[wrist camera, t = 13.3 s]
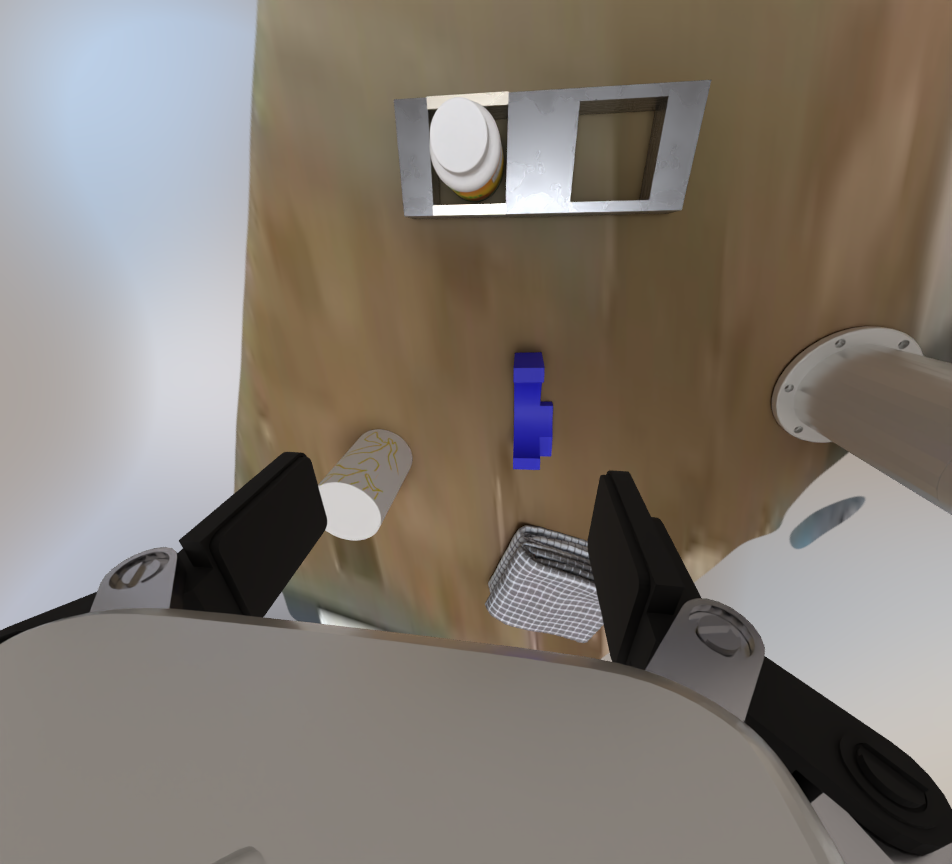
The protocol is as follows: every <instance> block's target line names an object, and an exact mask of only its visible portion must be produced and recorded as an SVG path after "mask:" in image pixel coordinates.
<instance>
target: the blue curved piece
mask: <svg viewBox="0 0 952 864" xmlns="http://www.w3.org/2000/svg"><path fill="white" fill-rule="evenodd" d="M542 382H544V362H543V357H542V352H536V353H515V358H514V452H513V469H528V470H540V456H551V450H552V416H553V404H552V402H540V396H541V385H542Z"/></svg>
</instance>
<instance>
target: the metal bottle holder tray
mask: <svg viewBox="0 0 952 864" xmlns="http://www.w3.org/2000/svg"><path fill="white" fill-rule="evenodd" d="M710 83H711V80H702V81H686V82H670V83H654V84H637V85H621V86H605V87H589V88H573V89H557V90H541V91H525V92H509V91H508V92H492V93H476V94H460V95H444V96H428V97H427V98H412V99H396V100H394V107H395V118H396V129H397V140H398V151H399V162H400V173H401V184H402V195H403V206H404V216H405V217H408V218H412V219H439V218H484V217H530V216H575V215H621V214H666V213H672V212H676V211H680V210H682V206H683V202H684V197H685V193H686V188H687V184H688V180H689V175H690V171H691V167H692V162H693V158H694V153H695V149H696V145H697V140H698V136H699V131H700V127H701V123H702V118H703V114H704V110H705V105H706V101H707V96H708V92H709V88H710ZM454 97H463V98H466V99H469V100H471V101H474V102H477V103H479V104H480V105H482V106H483V107H484V108H486V109H487V110H488V111H489V113H490V114H491V115H492V117H493V119H507V118H508V138H507V176H506V204H472V205H440V193H439V176H438V174H437V173H436V171H435V169H434V166H433V164H432V160H431V156H430V126H431V122H432V119H433V116H434V114H435V112H436V111H437V109H438V108H439V107H440V105H441V104H443V103H444V102H445V101H447V100H449V99H451V98H454ZM637 111H655V115H654V121H653V126H652V132H651V137H650V143H649V149H648V154H647V160H646V166H645V171H644V177H643V183H642V188H641V194H640V199H639V200H635V201H597V202H570V197H571V186H572V176H573V166H574V156H575V146H576V136H577V126H578V116H579V115H581V114H600V113H618V112H637Z"/></svg>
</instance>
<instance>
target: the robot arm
mask: <svg viewBox="0 0 952 864" xmlns="http://www.w3.org/2000/svg"><path fill="white" fill-rule="evenodd" d="M772 411H773V415H774V418H775V419H776V421H777V423H778V424H779V425H780V426H781V427H782V428H783V429H784V430H785V431H787V432H788V433H789V434H791V435H793V436H795V437H797V438H799V439H801V440H805V441H810V442H820V443H827V442H834V443H835V444H837V445H839V446H840V447H842V448H843V449H845V450H847V451H848V452H850V453H852V454H853V455H855V456H857V457H858V458H860V459H861V460H863V461H865V462H866V463H868V464H870V465H871V466H873V467H874V468H876V469H878V470H879V471H881V472H883V473H884V474H886V475H888V476H889V477H891V478H892V479H894V480H896V481H897V482H899V483H900V484H902V485H904V486H905V487H907V488H909V489H910V490H912V491H913V492H916V493H917V494H918V495H920V496H922V497H923V498H925V499H926V500H928V501H930V502H932V503H933V504H935V505H936V506H938V507H940V508H941V509H943V510H945V511H946V512H948V513H950V514H951V515H952V363H948V362H944V361H940V360H936V359H932V358H929V357H925V356H924V355H923V353H922V350H921V347H920V346H919V345H918V343H917V342H916V341H915V340H914V339H913V338H912V337H910V336H909V335H907V334H905V333H903V332H900V331H897V330H894V329H890V328H885V327H879V326H863V327H856V328H850V329H847V330H843V331H840V332H837V333H834V334H832V335H830V336H827V337H825V338H823V339H821V340H819V341H818V342H816V343H814V344H813V345H811V346H809V347H808V348H807V349H805V350H804V351H803V352H802V353H800V354H799V355H798V356H797V357H796V358H795V359H794V360H793V361H792V362H791V363H790V364H789V365H788V366H787V367H786V369H785V370H784V372H783V373H782V374H781V376H780V377H779V379H778V381H777V384H776V386H775V388H774V392H773V396H772ZM326 527H327V516H326V513H325V509H324V505H323V502H322V498H321V495H320V491H319V487H318V484H317V480H316V477H315V473H314V469H313V466H312V462H311V460H310V458H308V457H307V456H306V455H305V454H304V453H298V452H284V453H282V454H281V455H280V456H279V457H277V458H276V459H275V460H274V461H273V462H271V463H270V464H269V465H268V466H267V467H266V468H264V469H263V470H262V471H261V472H260V473H258V474H257V475H256V476H255V477H254V478H252V479H251V480H250V481H249V482H248V483H246V484H245V485H244V486H243V487H242V488H241V489H239V490H238V491H237V492H236V493H235V494H233V495H232V496H231V497H230V498H229V499H227V500H226V501H225V502H224V503H223V504H221V505H220V506H219V507H218V508H217V509H216V510H214V511H213V512H212V513H211V514H210V515H209V516H207V517H206V518H205V519H204V520H203V521H201V522H200V523H199V524H198V525H197V526H195V527H194V528H193V529H192V530H191V531H190V532H188V533H187V534H186V535H185V536H183V537H182V538H181V539H180V540H179V542H180V544H181V545H182V547H183V549H182V550H181V551H180V552H179V553H177V552H176V551H175V550H173V549H172V548H167V547H161V548H154V549H150V550H146V551H144V552H141V553H138V554H136V555H134V556H132V557H130V558H128V559H126V560H124V561H123V562H121V563H120V564H118V565H117V566H116V567H114V568H113V569H112V570H111V571H110V572H109V573H108V574H107V575H106V576H105V577H104V579H103V580H102V582H101V584H100V586H99V589H98V591H97V592H95V593H93V594H90V595H88V596H85V597H83V598H80V599H78V600H75V601H72V602H70V603H68V604H65V605H62V606H60V607H57V608H55V609H52V610H50V611H47V612H45V613H42V614H40V615H37V616H34V617H32V618H29V619H27V620H24V621H22V622H19V623H17V624H14V625H12V626H9V627H7V628H5V629H3V630H0V864H952V809H951V807H950V805H949V803H948V801H947V799H946V798H945V796H944V794H943V793H942V791H941V790H940V789H939V788H938V786H937V785H936V784H935V782H934V781H933V780H932V778H931V777H930V776H929V775H928V774H927V773H926V772H925V771H924V770H923V769H922V768H921V767H920V766H919V765H918V764H917V763H916V762H915V761H914V760H913V759H912V758H911V757H910V756H909V755H907V754H906V753H905V752H903V751H902V750H901V749H899V748H898V747H897V746H896V745H894V744H893V743H892V742H890V741H889V740H887V739H886V738H885V737H883V736H882V735H880V734H878V733H877V732H876V731H874V730H873V729H871V728H870V727H868V726H867V725H865V724H864V723H862V722H861V721H860V720H858V719H856V718H855V717H854V716H852V715H851V714H849V713H848V712H846V711H845V710H843V709H842V708H840V707H839V706H837V705H836V704H835V703H833V702H831V701H830V700H828V699H827V698H826V697H824V696H823V695H821V694H820V693H818V692H817V691H815V690H814V689H812V688H811V687H809V686H808V685H806V684H805V683H803V682H802V681H801V680H799V679H798V678H796V677H795V676H793V675H792V674H790V673H789V672H787V671H786V670H784V669H783V668H781V667H780V666H779V665H777V664H776V663H774V662H773V661H771V660H770V659H768V658H767V657H765V656H764V654H765V647H764V644H763V641H762V639H761V636H760V635H759V633H758V632H757V631H756V629H755V628H754V626H753V625H752V624H751V623H750V622H749V621H748V620H747V619H746V618H745V617H743V616H742V615H741V614H739V613H738V612H737V611H735V610H734V609H732V608H731V607H729V606H727V605H724V604H722V603H720V602H717V601H714V600H710V599H702V598H701V596H700V594H699V592H698V590H697V588H696V586H695V584H694V583H693V581H692V579H691V577H690V575H689V573H688V571H687V569H686V567H685V565H684V563H683V561H682V559H681V557H680V555H679V553H678V552H677V550H676V548H675V546H674V544H673V542H672V540H671V538H670V536H669V534H668V532H667V530H666V528H665V526H664V524H663V523H662V521H661V520H660V519H659V518H655V517H651V516H650V514H649V512H648V510H647V508H646V506H645V503H644V501H643V499H642V497H641V495H640V493H639V491H638V489H637V487H636V485H635V483H634V481H633V479H632V477H631V475H630V473H629V472H626V471H608V472H607V474H606V475H601V476H600V480H599V485H598V490H597V495H596V500H595V505H594V511H593V516H592V521H591V526H590V531H589V536H588V544H587V547H588V555H589V559H590V564H591V568H592V573H593V578H594V582H595V587H596V591H597V596H598V601H599V605H600V610H601V614H602V619H603V624H604V628H605V633H606V637H607V642H608V647H609V651H610V656H611V659H612V662H609V661H604V660H599V659H593V658H588V657H583V656H575V655H568V654H561V653H554V652H547V651H540V650H532V649H525V648H518V647H510V646H502V645H494V644H485V643H477V642H469V641H461V640H453V639H444V638H436V637H428V636H420V635H411V634H403V633H394V632H386V631H377V630H369V629H360V628H351V627H343V626H334V625H325V624H317V623H308V622H299V621H289V620H281V619H271V618H263V617H264V616H265V614H266V613H267V611H268V610H269V609H270V607H271V606H272V604H273V603H274V601H275V600H276V599H277V597H278V596H279V594H280V593H281V592H282V590H283V589H284V587H285V586H286V585H287V583H288V582H289V580H290V579H291V578H292V576H293V575H294V573H295V572H296V571H297V569H298V568H299V566H300V565H301V563H302V562H303V561H304V559H305V558H306V556H307V555H308V554H309V552H310V551H311V549H312V548H313V547H314V545H315V544H316V542H317V541H318V539H319V538H320V537H321V535H322V534H323V532H324V531H325V529H326Z"/></svg>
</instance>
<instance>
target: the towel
mask: <svg viewBox="0 0 952 864" xmlns="http://www.w3.org/2000/svg"><path fill="white" fill-rule="evenodd" d="M587 544H588V541H585V540H582V539H579V538H575V537H572V536H569V535H566V534H562V533H560V532H555V531H552V530H548V529H545V528H542V527H534V526H529V525H525V526H523V527H521V528H520V529H518V531H517V532H516V534H515V535H514V537H513V538H512V540H511V542H510V544H509V547H508V548H507V550H506V551H505V553H504V555H503V556H502V558H501V561H500V562H499V565H498V566H497V569H496V570H495V572H494V574H493V576H492V577H491V579H490V581H489V583H488V585H489V588H490V593H491V594H490V596H489V597H488V599H487V601H486V603H485V605H486V608H487V610H488V611H489V613H490V614H491V616H493V617H495V618H496V619H498V620H499V621H502V623H504V624H507V625H509V626H512V627H516V628H522V629H525V630H530V631H536V632H543V633H549V634H553V635H554V634H555V635H557V636H560V637H561V636H562V637H564V638H569V639H571V640H575V641H577V642H582V643H585V642H587V641H588V640H589V639H590V638H591V637H592V636H593V635H594V634H595V633H596V632H597V631H598V630H599V629H600V628H601V626H603V619H602V614H601V610H600V605H599V601H598V596H597V591H596V587H595V582H594V578H593V573H592V568H591V564H590V559H589V555H588V547H587Z"/></svg>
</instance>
